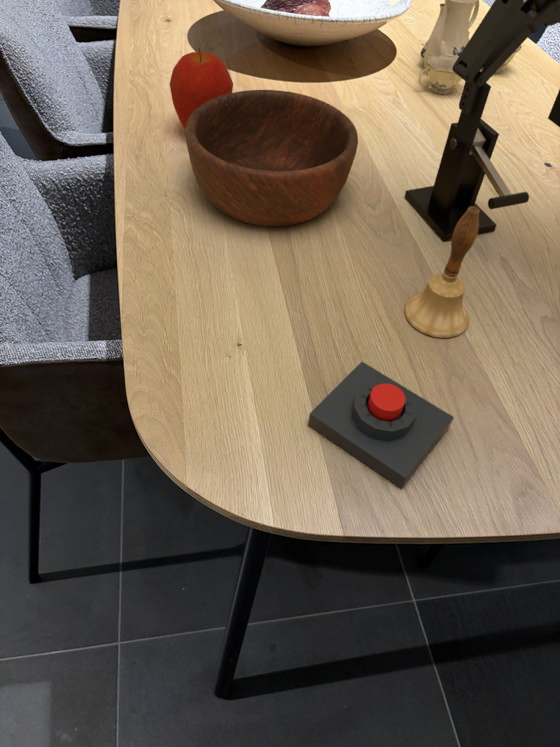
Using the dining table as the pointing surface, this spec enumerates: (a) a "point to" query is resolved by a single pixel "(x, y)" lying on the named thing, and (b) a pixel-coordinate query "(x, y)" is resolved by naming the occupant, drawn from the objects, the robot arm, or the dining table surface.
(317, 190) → the wooden bowl
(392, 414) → the button
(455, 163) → the bracket
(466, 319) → the hand bell
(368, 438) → the push button switch
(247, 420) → the dining table surface
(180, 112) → the apple
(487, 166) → the lever
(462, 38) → the chinaware
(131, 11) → the dining table surface
